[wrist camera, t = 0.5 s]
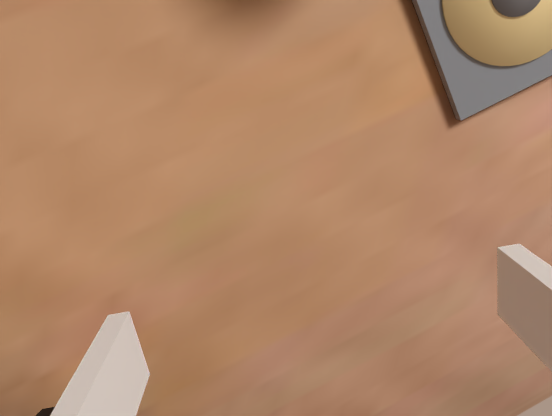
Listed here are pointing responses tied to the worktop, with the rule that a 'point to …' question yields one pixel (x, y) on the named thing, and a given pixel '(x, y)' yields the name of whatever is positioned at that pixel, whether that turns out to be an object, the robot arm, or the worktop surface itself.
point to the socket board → (487, 48)
